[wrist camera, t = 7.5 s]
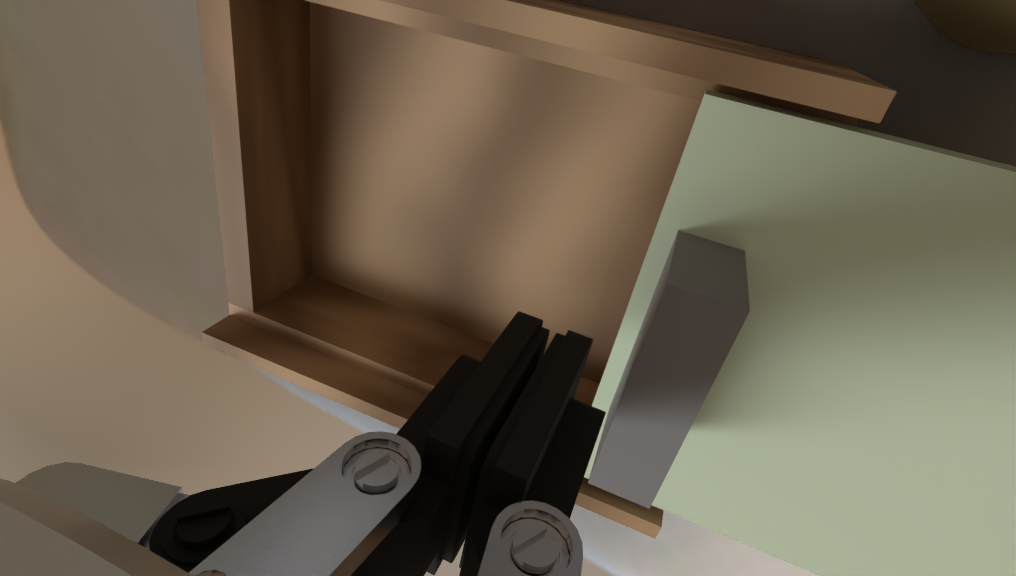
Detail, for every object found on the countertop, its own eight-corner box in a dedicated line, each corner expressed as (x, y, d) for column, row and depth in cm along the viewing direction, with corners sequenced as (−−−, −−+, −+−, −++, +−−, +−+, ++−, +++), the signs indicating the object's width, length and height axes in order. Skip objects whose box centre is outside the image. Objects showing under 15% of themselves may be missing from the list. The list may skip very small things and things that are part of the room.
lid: (1804, 363, 9) (2440, 574, 5) (1176, 700, 15) (1298, 888, 12) (705, 89, 12) (699, 118, 9) (574, 454, 18) (543, 546, 15)
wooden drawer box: (840, 64, 15) (897, 91, 10) (670, 421, 22) (654, 538, 17) (294, -61, 18) (142, -85, 14) (301, 281, 26) (203, 344, 21)
